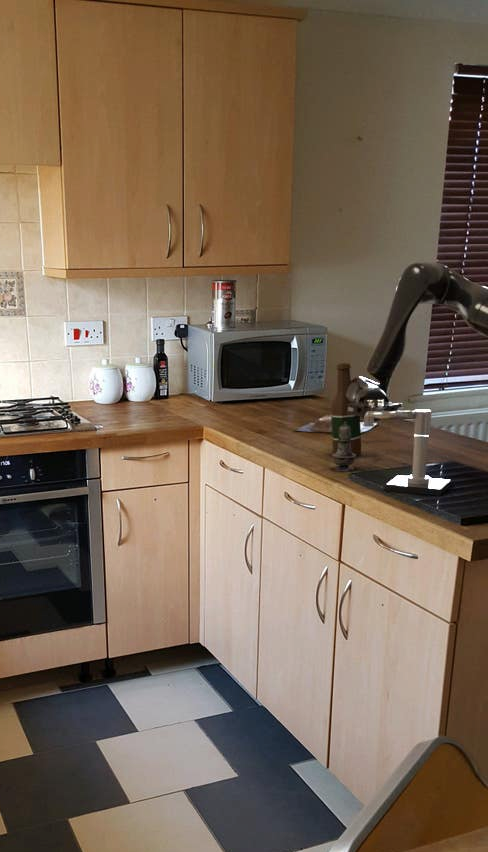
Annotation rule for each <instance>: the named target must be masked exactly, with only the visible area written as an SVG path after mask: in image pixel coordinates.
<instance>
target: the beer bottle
mask: <svg viewBox="0 0 488 852" xmlns="http://www.w3.org/2000/svg"><path fill="white" fill-rule="evenodd" d="M351 367H352V366H351V363H349V362H343V363H338V364H337V365H336V367H335V368H336V370H337V379H336V380H337V381H336V382H337V383H336V384H337V385H336V386H337V387H336V388H337V389H336V395H335V397H334V398H333V400H332V403H331V407H330V414H331V425H332V433H331V443H332V444H331V445H332V455H333V454H335V453H337V451H338V441H337V440H338V439H339V428H340V426H342V425H344V422H345V421H346V425H348V426H350V427H351V439H352V441H351V452H352V453H353V454H355V455H356V456H359V455H361V453H362V433H361V427H360V422H361V416H356V415H349V414H348V403H349V402H348V400H347V398H346V390H347V387H348V385H349V383H350V382H351V381H352V379H351Z"/></svg>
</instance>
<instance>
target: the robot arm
mask: <svg viewBox="0 0 488 852" xmlns="http://www.w3.org/2000/svg"><path fill="white" fill-rule="evenodd" d="M426 304H427V305H428V304H429V305H430V304H433V305H439V306H442V307H445V308H448V309H450V310H452V311H454V312H457V313H458V314H459V315H460V316H461V317H462V319H463V320H464V322H465V323H466V324H467V325H468V327H469V328H471V329H472V330H473V331H475V332H477V333H479V334H480V335H482V336H484V337H486V338H488V287H487V286H484V285H481V284H479V283H475V282H472V281H471V280H469V279H468V278H465V277H464V276H463V275H461V274H459V273H458V272H457V271H455V270H453V269H451V268H450V267H448V266H446V265H445V264H443V263H440V262H427V261H426V262H424V261H423V262H420V261H419V262H414V263H411V264H409V265H408V266H407V267H406V268H405V269H404V270H403V272H402V274H401V276H400V278H399V280H398V283H397V286H396V290H395V292H394V296H393V299H392V302H391V305H390V308H389V311H388V315H387V317H386V321H385V324H384V327H383V329H382V332H381V334H380V337H379V339H378V341H377V343H376V345H375V347H374V349H373V351H372V353H371V355H370V357H369V359H368V361H367V363H366V367H365V368H366V371H367V373H368V374H369V375H371V377H373V378H374V379H376V380H377V381H378V382H379V383H378V382H375V381H374V380H371V379H368V378H366V377H363V376H356V377H354V378H353V379H351V382H350V383H349V385H348V387H347V390H346V398H347V400H348V402H349V403H348V414H349V415H356V416H360V418H362V419H363V420H364V415H365V413H366V412H367V411H403V403H402V402H397V403H396V402H395V403H392V402H390V400H389V390H390V385H391V381H392V379H393V376H394V373H395V371H396V370H397V368H398V366H399V363H400V362H401V359H402V358H403V356H404V354H405V350H406V347H407V338H408V337H407V336H408V335H407V334H408V333H407V332H408V324H409V322H410V319H411V316H412V315H413V313H414V312H415V310H416V309H417V307H418V306H419V305H426ZM381 420H382V419H374V423H376V422H378V421H381Z"/></svg>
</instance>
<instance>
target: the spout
mask: <svg viewBox="0 0 488 852" xmlns="http://www.w3.org/2000/svg"><path fill="white" fill-rule="evenodd" d="M432 412H433V411H432V410H431V409H422V408H421V409H415V410H402V411H367V412H366V413H365V415H364V419H363V422H364V426H366V427H372V426H374V423H375V422H374V419H381V420H413V429H412V435H413V436H414V435H420V436H425V435H428V436H430V435H431V426H432V425H431V424H432ZM374 427H375V426H374ZM372 428H373V427H372Z"/></svg>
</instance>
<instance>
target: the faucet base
mask: <svg viewBox="0 0 488 852" xmlns="http://www.w3.org/2000/svg"><path fill="white" fill-rule="evenodd" d="M428 448H429V435H425V436H420V435H414V434H413V448H412V449H413V450H412V451H413V452H412V454H413V455H412V468H411V474H410V475H396V476H395V477H394V478H393V479H391V480H390V481H388V482H387V483H386V484H385V492H392V493H405V494H416V495H417V494H418V495H427V496H438V497H440V496H442V494H443V493H444V492H446V491H447V490H448V489H449V488H450V487H451V479H444V478H432V477H430V476H429V475H427V465H428V464H427V463H428V450H429V449H428Z"/></svg>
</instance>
